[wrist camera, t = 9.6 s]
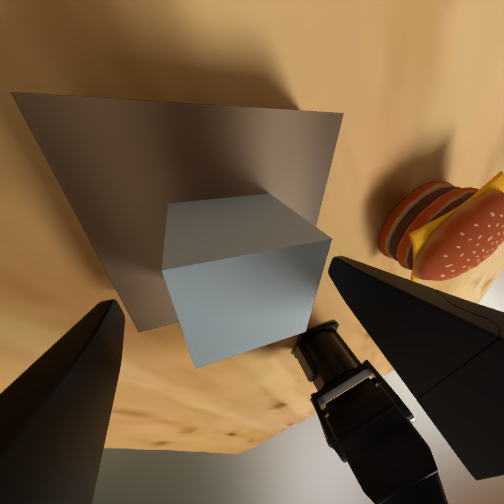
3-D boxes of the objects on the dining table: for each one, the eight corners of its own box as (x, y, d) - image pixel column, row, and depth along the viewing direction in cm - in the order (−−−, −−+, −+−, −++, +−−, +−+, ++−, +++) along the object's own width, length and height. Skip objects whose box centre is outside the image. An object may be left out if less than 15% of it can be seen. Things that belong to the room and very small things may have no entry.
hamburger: (380, 268, 25) (434, 306, 19) (371, 216, 19) (445, 252, 14) (444, 224, 24) (519, 252, 18) (455, 156, 18) (569, 169, 13)
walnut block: (299, 115, 12) (343, 113, 9) (279, 264, 19) (299, 292, 16) (70, 103, 9) (10, 91, 5) (146, 289, 15) (138, 332, 12)
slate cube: (269, 193, 10) (332, 238, 6) (265, 267, 13) (305, 331, 9) (168, 203, 8) (161, 270, 5) (188, 284, 11) (195, 368, 7)
